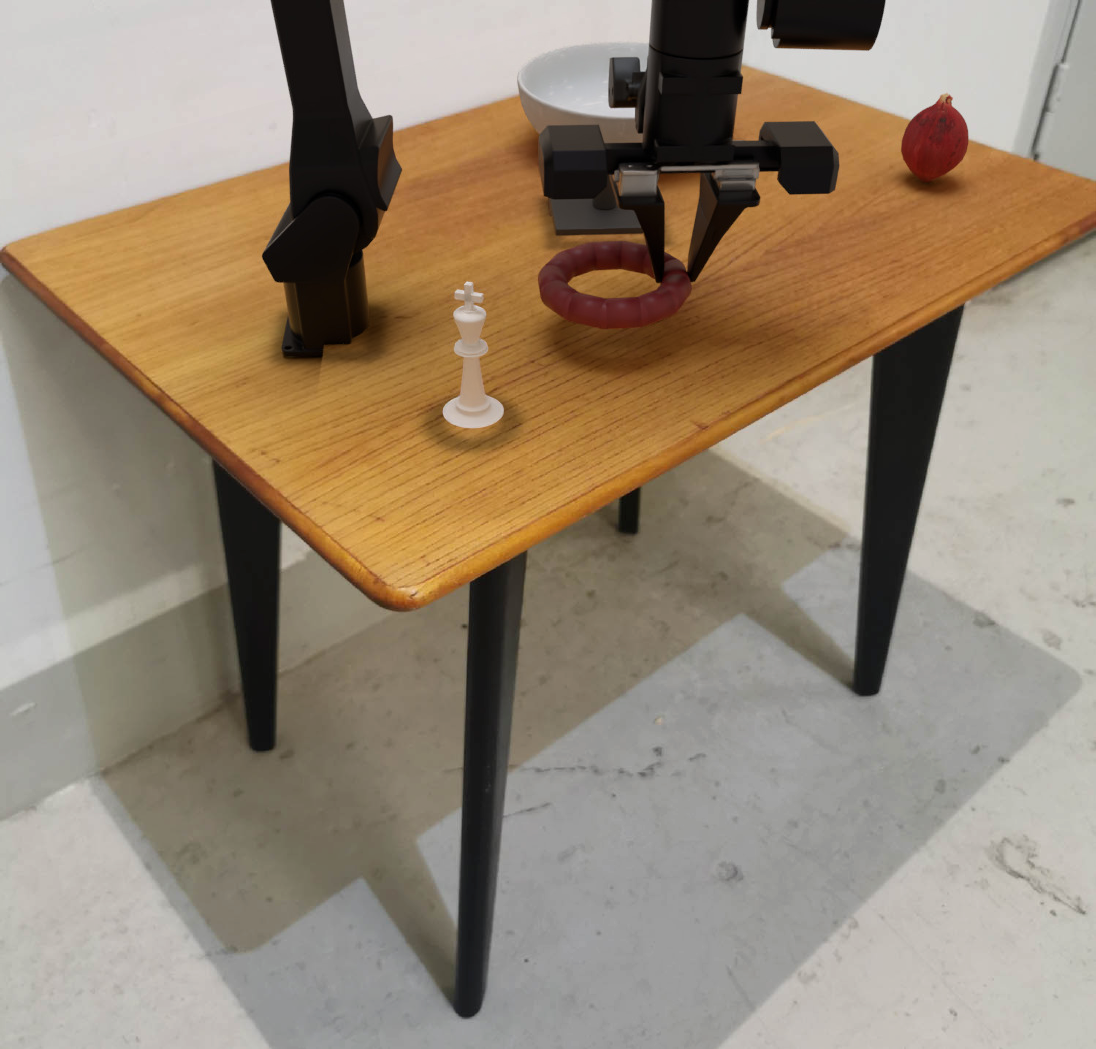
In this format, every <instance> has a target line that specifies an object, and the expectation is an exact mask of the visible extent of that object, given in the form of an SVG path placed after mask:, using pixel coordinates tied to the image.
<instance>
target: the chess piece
mask: <svg viewBox="0 0 1096 1049" xmlns="http://www.w3.org/2000/svg"><path fill="white" fill-rule="evenodd" d="M453 293H454V300H457V301H463V302H464V304H463V305H461V306H459V307H457V308H456V309H455V310H454V311H453V314H452V316H453V321H454V323H455V324H456V326H457V329H458V332H459V335H460V339H458V340H457V341H456V342H455V343H454V347H453V352H454V354H456V355H457V356H459V357H461V358H463V360H462V373H461V383H460V392H459V395H457V396H456V397H454V398H452V399H451V400H449V401H447V402H446V403H445V405H444V406H443V408H442V414H443V415H442V416H443V417H444V419H445V421H447V422H448V423H449V424H451V425H453V426H456V427H458V428H463V429H480V428H485V427H488V426H489V427H490V426H491V425H493V424H495V423H497V422H498V421H500V420H501V419H502V417H503V416H504V413H505V408H504V406H503V404H502V403H501V402H500V401H499V400H498V399H496V398H495V397H492V396H489V395H488V394H486V391H485V386H484V380H483V374H482V368H481V360H480V357H482V356H484V355H486V354H487V353H488V352H489V346H488V343H487V341H486V340H484V339H482V338H480V337H481V334H482V331H483V327H484V324H485V322H486V319H487V312H486V310H485V308H483V307H482V306H479V305H476V304H482V303H483V302H484V300H485V299H484V293H482V292H477V291H474V282H472V281H465V283H464V284H463V289H458V288H457V289H456V290H455V291H454V292H453ZM475 303H476V304H475Z"/></svg>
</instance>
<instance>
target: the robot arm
mask: <svg viewBox="0 0 1096 1049" xmlns="http://www.w3.org/2000/svg"><path fill="white" fill-rule="evenodd" d="M749 5H750V0H651V7H650V19H649V20H650V22H649V35H648V39H649V40H648V43H649V49H648V57H647V68H646V71H640V59H639V58H638V57H612V58H610V63H609V79H608V103H609V107H610V108H635V122H636V124H635V128H636V130H637V133H638V134H643V140H642V142H640V143H604V140H603V137H602V134H601V130H600V127H599V125H547V127H546V128H545V129H544V130H543V131H542V133H541V134H538V140H537V141H538V142H537V143H538V144H537V146H538V147H537V148H538V150H537V165H538V166H537V167H538V172H539V176H540V183H541V188H542V193H543V197H545V198H547V199H548V198H551V199H553V200H556V199H594V198H595V197H596V196H597V195H598V194H600V193H601V192H602V191H603V190H604V189H605V188H606V187H607V175H609V177H610V182H611V186H612V189H613V192H614V196H615V199H616V202H617V206H618V207H619V208H620V209H623V210H633V211H634V212H635V214H636V216H637V219H638V221H639V223H640V226H641V228H642V231H643V233H642V234H643V238H644V242H645V245H646V246H647V250H648V254H649V258H650V262H651V266H652V270H653V274H654V278H655V279H654V280H655V283H656V284H660V283H662V279H663V274H664V268H665V252H666V251H665V250H666V248H665V247H666V243H665V242H666V241H665V240H666V238H665V236H666V235H665V234H666V233H665V232H666V230H665V228H666V227H665V226H666V224H665V223H666V220H665V219H666V218H665V217H666V215H665V213H666V212H665V210H666V209H665V208H666V206H665V204H666V203H665V200H664V197H663V195H662V192H661V190H660V187H659V184H658V183H659V181H660V175H664V174H665V175H667V174H668V175H670V174H672V175H673V174H699V195H698V201H697V206H696V212H695V217H694V221H693V222H694V223H693V227H692V232H691V239H690V243H689V248H688V253H687V266H686V267H687V268H686V271H687V273H688V276H689V279H690V281H691V283H695V282H696V281H697V280H698V278H699V276H700V274H701V273H702V272H703V270H704V268H705V266H706V265H707V263H708V261H709V260H710V258H711V257H712V255H713V254H714V251H715V250H716V248H717V246H718V245H719V243H720V242H721V240H722V239H723V237H724V236H725V235H726V233H727V232H728V231H729V230H730V228H731V227H732V226H733V225H734V224H735V222H736V221H737V219H738V218H739V217H740V216H741V214H743V212H744V211H745V210H746V209H747V208H756V207H759V205H760V204H761V198H762V197H761V195H760V193H759V192H758V190H757V188H756V183H757V180H759V177H760V173H766V172H768V173H769V172H770V173H773V172H777V176H776V180H777V183H779V185H780V186H781V187H782V188H783V189H784V190H785V192H786V193H787V194H788V195H789V196H792V195H793V196H795V195H796V196H797V195H829V194H831V193H833V192H835V191H836V188H837V181H838V176H839V171H840V154H839V152H838V150H837V149H836V147H835V146H834V145H833V144H832V142H831V140H830V139H829V138H828V137H827V135H826V134H825V132H824V131H823V129H822V128H821V127H820V126H819V124H817V122H816V121H815V120H802V121H801V120H799V121H797V120H795V121H764V122H763V124H762V126H761V128H760V129H759V133H758V139H756V140H745V139H735V140H734V134H735V124H736V117H737V108H738V97H739V95H742V90H743V81H744V75H743V74H742V66H743V56H744V49H745V48H744V47H745V39H746V30H747V22H748V14H749ZM270 6H271V10H272V15H273V20H274V24H275V30H276V34H277V41H278V44H279V50H280V54H281V60H282V64H283V69H284V73H285V79H286V84H287V88H288V94H289V98H290V103H291V110H292V124H291V126H292V127H291V139H290V152H289V164H288V180H289V181H288V182H289V203H288V205H287V206H286V209H285V210H284V212H283V215H282V216H281V218H280V220H279V221H278V224H277V225H276V228H275V229H274V231H273V232H272V235H271V236H270V239H269V240H268V242H267V244H266V246H265V248H264V249H263V252H262V253H261V258H262V261H263V263H264V265H265V266H266V268H267V270H268V272H269V273H270V275H271V277H272V279H273V281H274V282H275V283H281V284H283V290H284V295H285V302H286V309H287V317H286V323H285V328H284V333H283V338H282V342H281V348H280V349H281V354H282V356H284V357H313V356H314V357H319V356H324V349H325V346H339V345H340V346H341V345H342V346H343V345H350V344H352V342H353V339H354V338H357V337H358V336H360V335H361V334H363V333H364V332H365V331H367V329H368V328H369V326H370V324H371V320H370V319H371V317H370V308H369V299H368V289H367V279H366V269H365V258H364V251H363V250H365V249H367V248H368V247H369V246H370V244H371V243H372V242H373V241H374V240H375V238H376V236H377V235H378V232H379V228H380V226H381V224H382V221H383V219H384V216H385V213H386V212H387V211H388V210H389V207H390V204H391V202H392V199H393V197H394V194H395V191H396V188H397V185H398V183H399V180H400V177H401V175H402V172H403V168H402V166H401V165H400V162H399V161H398V159H397V156H396V151H395V149H394V117H393V115H392V114H386V115H382V116H379V117H374V118H373V116H372V114H371V113H370V110H369V109H368V107H367V104H366V103H365V101H364V100H363V98H362V95H361V92H360V89H359V86H358V80H357V73H356V67H355V61H354V56H353V55H354V54H353V50H352V43H351V37H350V31H349V25H348V19H347V18H348V17H347V14H346V13H347V12H346V7H345V1H344V0H270ZM885 8H886V0H756V11H755V12H756V19H755V20H756V29H757V30H760V31H762V30H764V31H767V30H768V29H770V39H771V40H772V46H773V48H775V49H787V50H791V49H792V50H824V51H825V50H827V51H829V50H832V51H866V52H867V51H868V52H869V51H871V50H872V49H873V47H874V45H875V44H876V41H877V38H878V37H879V32H880V30H881V26H882V22H883V17H884V14H885Z"/></svg>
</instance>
